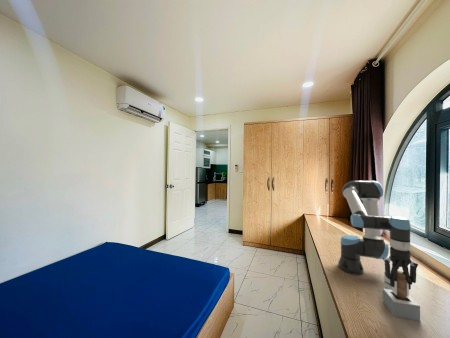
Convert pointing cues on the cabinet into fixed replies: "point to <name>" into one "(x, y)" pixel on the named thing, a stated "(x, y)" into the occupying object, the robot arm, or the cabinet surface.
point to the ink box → (387, 282)
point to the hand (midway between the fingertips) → (400, 293)
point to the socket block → (401, 306)
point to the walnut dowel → (401, 285)
